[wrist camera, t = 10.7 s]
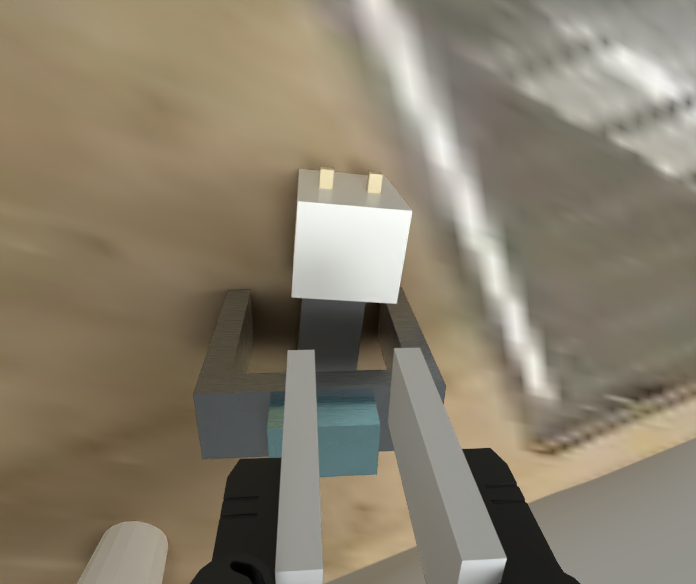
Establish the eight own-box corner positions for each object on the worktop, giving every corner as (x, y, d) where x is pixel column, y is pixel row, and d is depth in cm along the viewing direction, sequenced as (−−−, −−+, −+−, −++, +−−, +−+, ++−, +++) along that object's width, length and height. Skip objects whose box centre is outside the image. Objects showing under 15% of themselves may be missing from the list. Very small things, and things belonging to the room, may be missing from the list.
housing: (232, 340, 34) (194, 491, 22) (228, 289, 32) (183, 423, 20) (397, 336, 35) (448, 478, 23) (401, 287, 34) (458, 412, 21)
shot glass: (111, 575, 44) (79, 661, 37) (81, 524, 41) (40, 608, 34) (185, 561, 44) (166, 644, 37) (160, 509, 41) (134, 590, 34)
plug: (356, 390, 37) (368, 467, 30) (284, 387, 36) (280, 466, 29) (388, 160, 30) (415, 190, 23) (300, 152, 29) (299, 179, 22)
